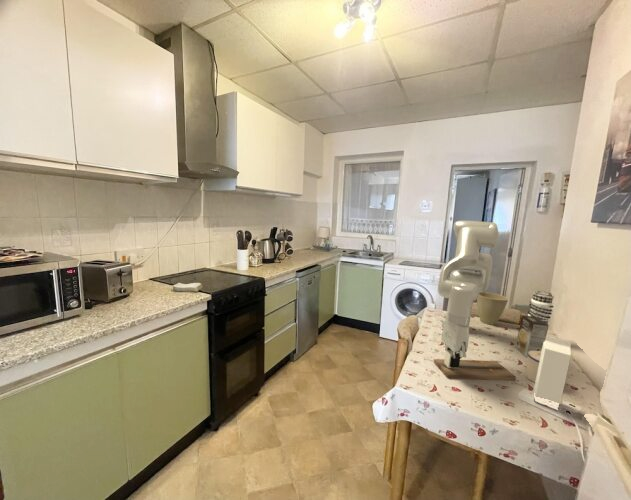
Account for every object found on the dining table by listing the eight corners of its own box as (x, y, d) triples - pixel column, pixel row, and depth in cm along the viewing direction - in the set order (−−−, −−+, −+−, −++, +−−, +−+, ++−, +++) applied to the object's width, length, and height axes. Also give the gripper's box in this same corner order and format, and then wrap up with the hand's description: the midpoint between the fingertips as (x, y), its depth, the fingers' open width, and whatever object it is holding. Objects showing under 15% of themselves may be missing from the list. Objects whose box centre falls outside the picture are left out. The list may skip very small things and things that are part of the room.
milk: (532, 393, 90) (544, 332, 87) (556, 401, 87) (569, 338, 84) (534, 402, 85) (546, 338, 82) (559, 411, 82) (573, 345, 79)
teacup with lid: (556, 391, 92) (563, 360, 90) (524, 379, 97) (529, 350, 96) (552, 375, 102) (558, 347, 100) (522, 366, 107) (528, 339, 105)
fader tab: (444, 363, 101) (445, 350, 101) (453, 363, 102) (455, 350, 101) (448, 367, 99) (450, 354, 98) (458, 368, 99) (460, 354, 98)
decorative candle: (536, 335, 137) (545, 289, 134) (551, 344, 128) (561, 295, 124) (518, 334, 137) (527, 288, 134) (532, 343, 128) (541, 294, 125)
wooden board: (433, 362, 105) (434, 358, 105) (495, 364, 107) (496, 360, 106) (447, 378, 95) (448, 374, 95) (515, 380, 97) (516, 376, 97)
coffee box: (514, 347, 123) (520, 314, 121) (529, 349, 122) (536, 316, 119) (525, 357, 114) (532, 322, 112) (542, 359, 113) (549, 324, 111)
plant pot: (509, 328, 145) (514, 300, 142) (483, 327, 144) (488, 299, 142) (491, 317, 159) (495, 292, 157) (467, 316, 159) (471, 291, 157)
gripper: (437, 309, 105) (431, 352, 108) (461, 327, 89) (454, 377, 92) (455, 310, 106) (448, 353, 108) (482, 328, 90) (474, 377, 92)
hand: (451, 363), depth 100 cm, fingers closed on fader tab, 3 cm apart
